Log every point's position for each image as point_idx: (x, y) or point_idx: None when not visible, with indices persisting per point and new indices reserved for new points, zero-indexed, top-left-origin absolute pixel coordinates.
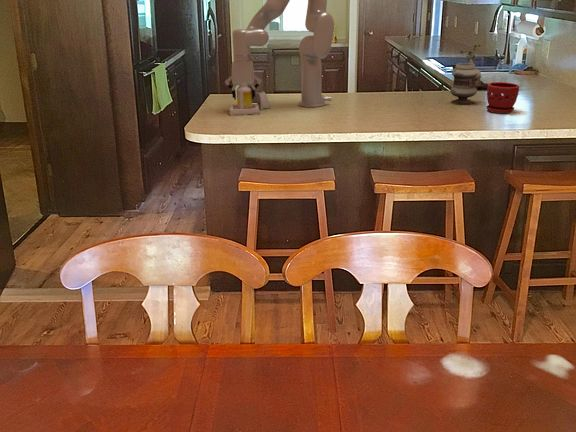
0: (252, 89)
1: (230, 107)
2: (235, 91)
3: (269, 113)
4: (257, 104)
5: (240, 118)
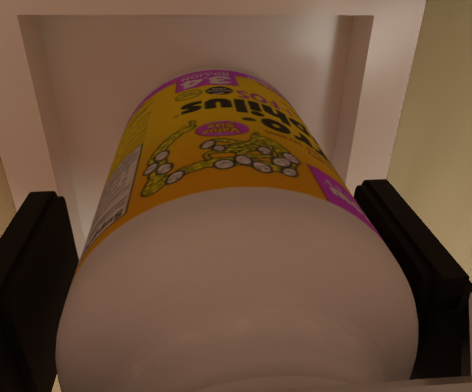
0: (422, 375)
1: (23, 199)
2: (22, 290)
3: (441, 225)
4: (408, 36)
5: None
